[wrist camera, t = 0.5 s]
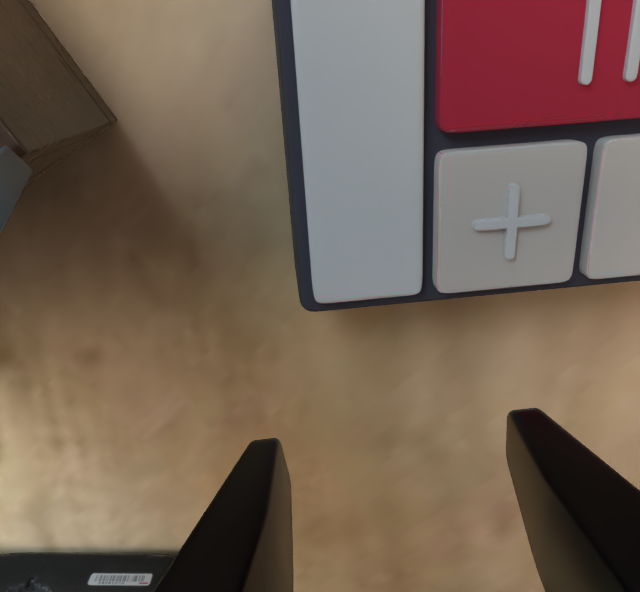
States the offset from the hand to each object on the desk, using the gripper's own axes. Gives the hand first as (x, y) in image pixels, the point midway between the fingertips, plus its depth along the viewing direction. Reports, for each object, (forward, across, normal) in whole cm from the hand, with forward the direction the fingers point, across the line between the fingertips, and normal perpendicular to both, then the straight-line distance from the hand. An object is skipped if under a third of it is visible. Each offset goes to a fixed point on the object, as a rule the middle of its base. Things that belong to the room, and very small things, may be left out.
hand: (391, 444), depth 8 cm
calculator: (+15, -5, 0) cm, 16 cm away
